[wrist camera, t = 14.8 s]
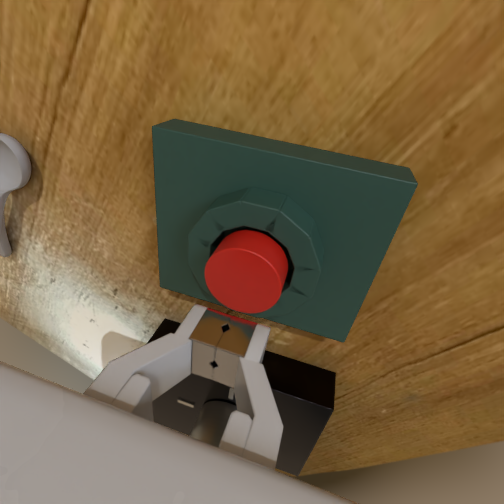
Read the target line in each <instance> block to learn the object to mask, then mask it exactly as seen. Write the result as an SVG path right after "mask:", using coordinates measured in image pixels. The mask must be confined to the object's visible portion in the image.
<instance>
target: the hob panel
mask: <svg viewBox="0 0 504 504" xmlns="http://www.w3.org/2000/svg"><path fill="white" fill-rule="evenodd" d="M180 325H181V323H178V322H175V321H171V320H168V319H164V320H163V322H162V323H161V325H160V326H159V327H158V329H157V330H156V332H155V333H154V334H153V336H152V337H151V339H150V340H149V341H148V343H150V342H152V341H155V340H157V339H159V338H161V337H163V336H165V335H167V334H169V333H173V334H174V333H175V332H176V331H177V329H178V328H179V326H180ZM148 343H147V344H148ZM262 364H263V366H264V369H265V372H266V375H267V378H268V381H269V384H270V387H271V390H272V393H273V396H274V399H275V402H276V405H277V409H278V412H279V415H280V418H281V421H282V424H283V432H282V437H281V442H280V447H279V451H278V456H277V461H276V466H275V468H277V469H280V470H283V471H285V472H288V473H290V474H293V475H296V476H298V475H299V474H300V472H301V470H302V468H303V466H304V464H305V462H306V461H307V459H308V457H309V455H310V453H311V451H312V449H313V448H314V446H315V444H316V442H317V440H318V438H319V436H320V435H321V433H322V431H323V429H324V427H325V425H326V424H327V422H328V420H329V418H330V416H331V414H332V412H333V411H334V396H335V377H336V373H335V372H331V371H328V370H325V369H322V368H319V367H316V366H313V365H309V364H306V363H303V362H300V361H297V360H294V359H291V358H287V357H284V356H281V355H278V354H275V353H272V352H269V351H266V350H265V353H264V357H263V360H262ZM209 401H224V402H227V403H230V404H233V405H235V406H237V405H236V400H235V394H234V388H232V387H229V386H227V385H224V384H222V383H219V382H217V381H214V380H211V379H208V378H205V377H202V376H199V375H196V374H193V373H191V374H190V375H189V376H187V377H186V378H185V379H183V380H182V381H180V382H179V383H177V384H176V385H175V386H173V387H172V388H170V389H169V390H168V391H166V392H165V393H163V394H162V395H161V396H159V397H158V398H156V399H155V400H153V401H152V405H153V417H154V422H155V423H158V424H161V425H163V426H166V427H168V428H171V429H174V430H176V431H179V432H182V433H184V434H187V435H190V434H191V432H192V429H193V427H194V425H195V422H196V420H197V418H198V415H199V413H200V411H201V408H202V406H203V405H204V404H205V403H207V402H209Z"/></svg>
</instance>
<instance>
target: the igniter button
mask: <svg viewBox="0 0 504 504" xmlns="http://www.w3.org/2000/svg"><path fill="white" fill-rule="evenodd" d="M287 272H288V261H287V257H286V255H285V253H284V251H283V249H282V248H281V246H280V245H279V244H278V243H277V242H276V241H275V240H273V239H272V238H271V237H269V236H267V235H266V234H263V233H261V232H258V231H253V230H241V231H236V232H233V233H231V234H229V235H228V236H226V237H225V238H224V239H223V240H222V241H221V243H220V244H219V245H218V247H217V248H216V250H215V251H214V252H213V254H212V255H211V257H210V258H209V259H208V261H207V263H206V266H205V281H206V284H207V287H208V289H209V290H210V292H211V293H212V295H213V296H214V297H215V298H216V299H217V300H218V301H219V302H221V303H222V304H223V305H225V306H227V307H228V308H230V309H233V310H235V311H238V312H243V313H259V312H263V311H266V310H268V309H270V308H271V307H272V306H274V305H275V304H276V303H277V301H278V300H279V298H280V295H281V292H282V289H283V286H284V282H285V279H286V276H287Z"/></svg>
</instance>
